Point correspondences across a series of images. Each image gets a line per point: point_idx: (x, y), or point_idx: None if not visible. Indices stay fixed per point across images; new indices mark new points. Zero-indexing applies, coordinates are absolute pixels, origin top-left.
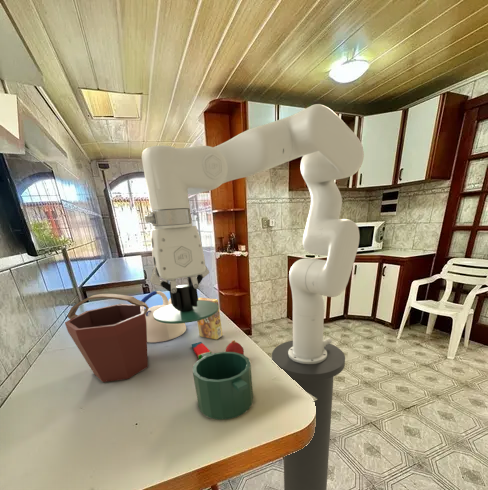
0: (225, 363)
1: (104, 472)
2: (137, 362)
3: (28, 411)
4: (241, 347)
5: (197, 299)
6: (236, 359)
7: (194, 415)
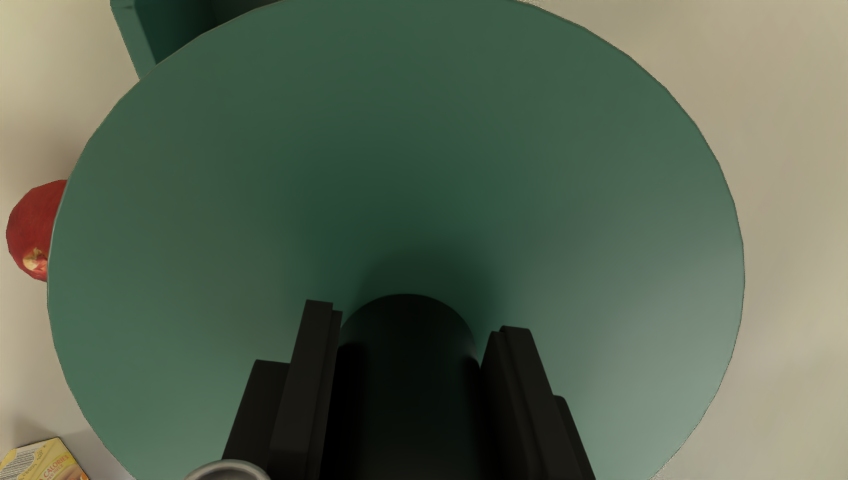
0: None
1: (840, 21)
2: None
3: (801, 466)
4: (17, 212)
5: (263, 364)
6: (160, 35)
7: None
